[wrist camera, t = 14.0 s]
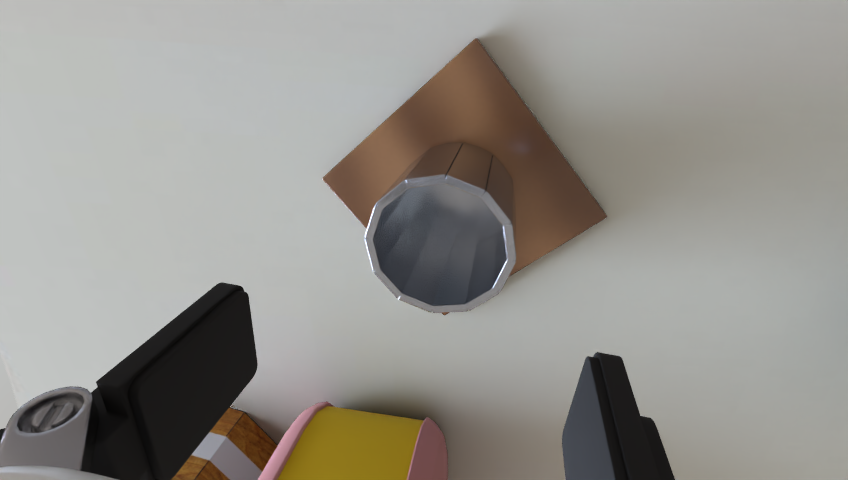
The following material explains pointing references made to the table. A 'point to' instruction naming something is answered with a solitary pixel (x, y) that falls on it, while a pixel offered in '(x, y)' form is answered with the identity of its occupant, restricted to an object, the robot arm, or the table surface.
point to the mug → (230, 451)
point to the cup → (446, 229)
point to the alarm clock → (358, 447)
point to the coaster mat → (482, 126)
